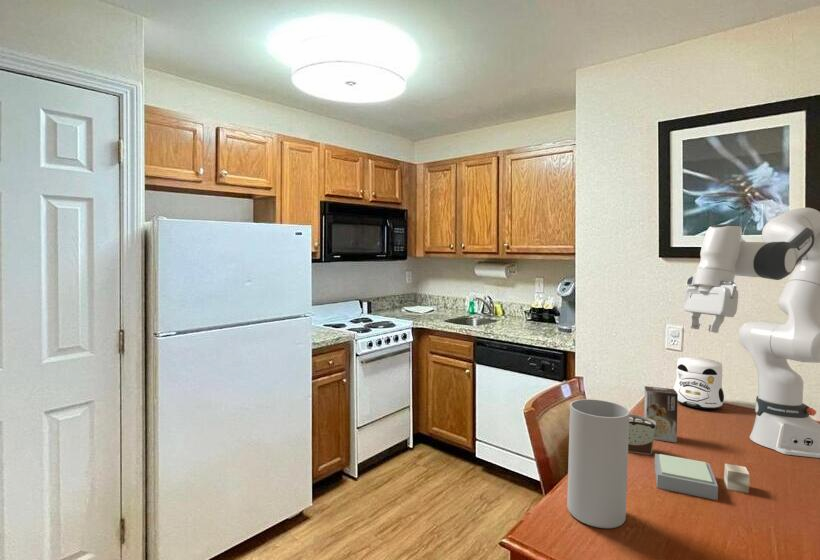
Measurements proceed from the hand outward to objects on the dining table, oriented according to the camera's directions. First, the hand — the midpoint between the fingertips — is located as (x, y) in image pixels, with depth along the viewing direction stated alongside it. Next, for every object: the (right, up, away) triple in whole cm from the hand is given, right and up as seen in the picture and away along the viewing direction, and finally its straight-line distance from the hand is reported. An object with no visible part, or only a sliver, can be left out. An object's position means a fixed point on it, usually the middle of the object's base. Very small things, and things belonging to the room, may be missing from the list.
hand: (703, 330), depth 123 cm
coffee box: (+2, -39, +26) cm, 46 cm away
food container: (-11, -39, +17) cm, 44 cm away
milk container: (+36, -37, +59) cm, 79 cm away
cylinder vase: (-38, -41, -19) cm, 59 cm away
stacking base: (-8, -40, -4) cm, 41 cm away
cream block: (+4, -40, -7) cm, 41 cm away
